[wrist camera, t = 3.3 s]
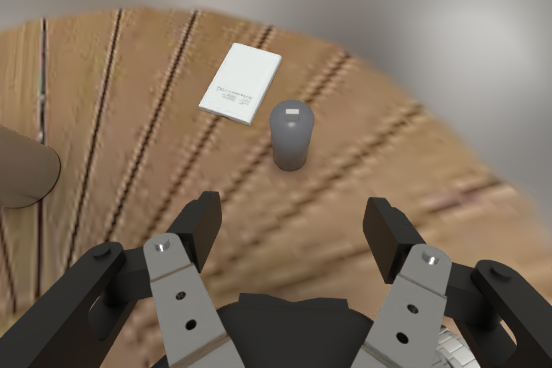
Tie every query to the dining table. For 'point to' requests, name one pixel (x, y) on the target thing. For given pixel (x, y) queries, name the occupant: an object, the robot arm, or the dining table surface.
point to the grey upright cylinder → (291, 133)
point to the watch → (452, 351)
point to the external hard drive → (241, 83)
